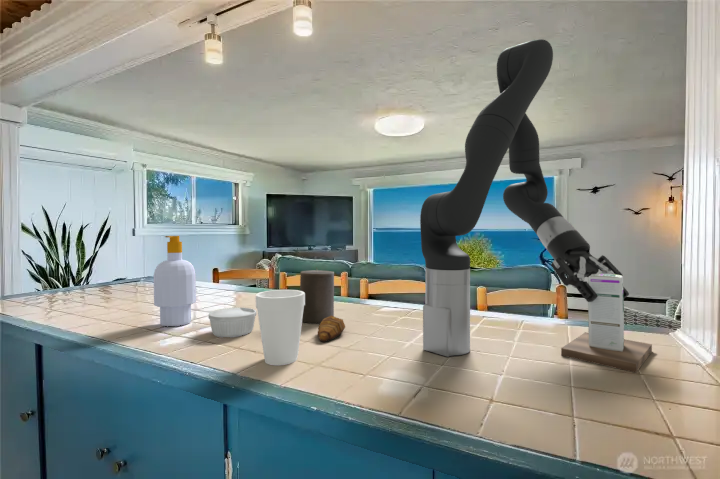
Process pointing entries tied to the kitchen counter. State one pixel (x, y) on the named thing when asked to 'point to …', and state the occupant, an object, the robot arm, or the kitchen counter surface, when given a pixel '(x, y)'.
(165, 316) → the soap bottle
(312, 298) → the pillar candle
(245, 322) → the ramekin
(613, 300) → the syrup box
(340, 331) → the croissant
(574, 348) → the walnut board
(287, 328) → the foam cup
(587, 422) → the kitchen counter surface
